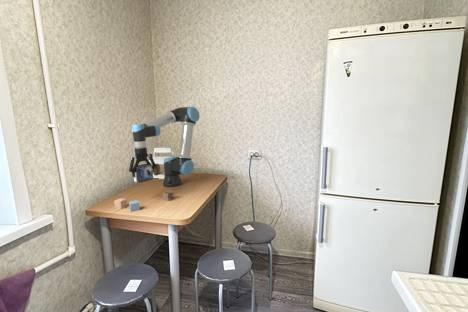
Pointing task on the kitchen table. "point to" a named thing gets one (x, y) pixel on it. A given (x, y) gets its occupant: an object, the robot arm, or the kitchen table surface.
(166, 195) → the walnut block
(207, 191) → the kitchen table surface
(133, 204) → the slate block
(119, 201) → the terracotta block
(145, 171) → the small box
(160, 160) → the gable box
